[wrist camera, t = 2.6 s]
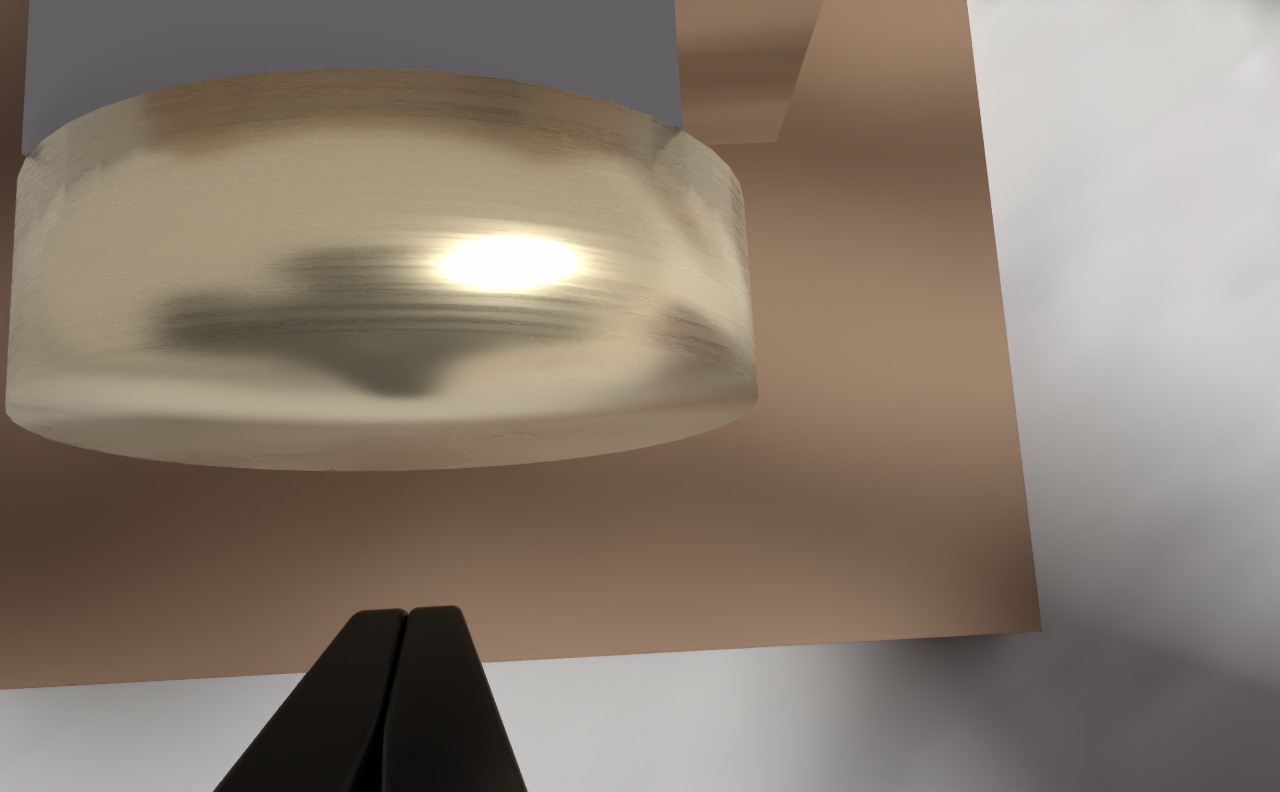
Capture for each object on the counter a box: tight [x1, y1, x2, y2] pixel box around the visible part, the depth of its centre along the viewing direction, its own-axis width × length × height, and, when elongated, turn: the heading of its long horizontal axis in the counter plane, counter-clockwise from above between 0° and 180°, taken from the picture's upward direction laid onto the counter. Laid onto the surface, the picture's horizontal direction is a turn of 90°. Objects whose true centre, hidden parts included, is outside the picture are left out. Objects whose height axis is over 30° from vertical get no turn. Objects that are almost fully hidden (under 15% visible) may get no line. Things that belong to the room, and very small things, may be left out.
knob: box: [5, 0, 759, 471], centre depth 10 cm, size 7×6×6 cm
